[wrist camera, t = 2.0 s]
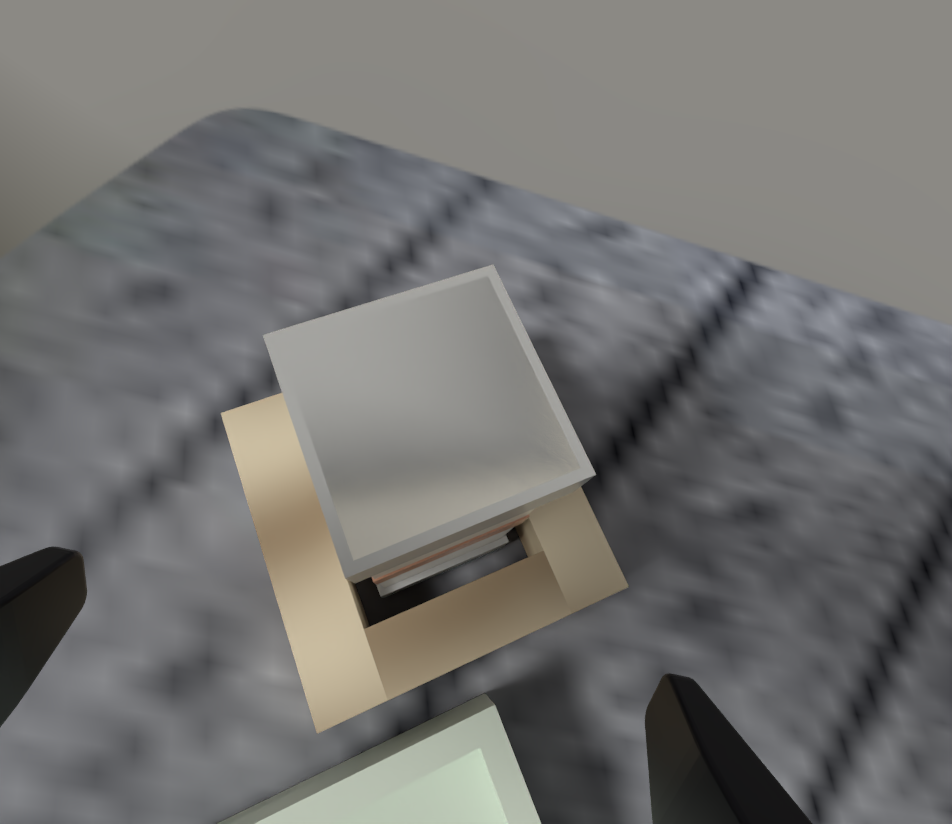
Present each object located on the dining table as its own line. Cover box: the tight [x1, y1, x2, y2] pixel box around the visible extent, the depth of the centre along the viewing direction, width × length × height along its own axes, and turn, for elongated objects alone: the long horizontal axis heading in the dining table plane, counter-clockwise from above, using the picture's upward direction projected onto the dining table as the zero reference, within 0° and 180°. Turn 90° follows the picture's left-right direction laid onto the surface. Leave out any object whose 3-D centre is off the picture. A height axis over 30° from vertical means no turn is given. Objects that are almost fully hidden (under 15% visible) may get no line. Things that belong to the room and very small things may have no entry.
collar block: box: [221, 393, 629, 734], centre depth 19 cm, size 10×10×2 cm
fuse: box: [263, 265, 596, 598], centre depth 15 cm, size 4×4×11 cm
